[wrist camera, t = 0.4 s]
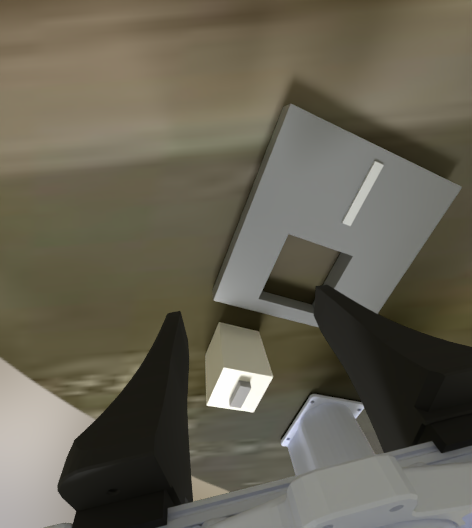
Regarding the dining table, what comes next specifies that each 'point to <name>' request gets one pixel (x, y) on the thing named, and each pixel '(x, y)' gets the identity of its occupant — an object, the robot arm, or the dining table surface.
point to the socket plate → (331, 215)
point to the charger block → (236, 368)
